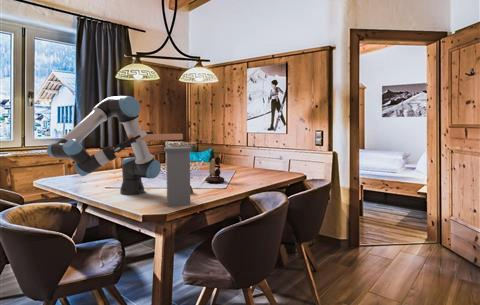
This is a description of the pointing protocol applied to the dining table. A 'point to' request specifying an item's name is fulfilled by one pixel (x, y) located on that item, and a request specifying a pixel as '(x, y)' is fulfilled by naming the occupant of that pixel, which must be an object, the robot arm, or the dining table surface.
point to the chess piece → (214, 173)
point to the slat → (160, 137)
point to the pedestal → (178, 176)
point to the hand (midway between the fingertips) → (145, 132)
